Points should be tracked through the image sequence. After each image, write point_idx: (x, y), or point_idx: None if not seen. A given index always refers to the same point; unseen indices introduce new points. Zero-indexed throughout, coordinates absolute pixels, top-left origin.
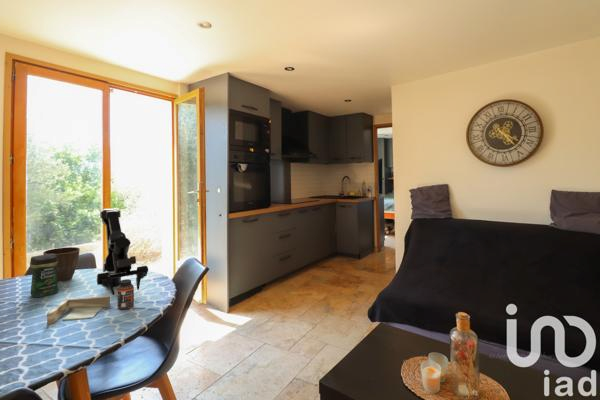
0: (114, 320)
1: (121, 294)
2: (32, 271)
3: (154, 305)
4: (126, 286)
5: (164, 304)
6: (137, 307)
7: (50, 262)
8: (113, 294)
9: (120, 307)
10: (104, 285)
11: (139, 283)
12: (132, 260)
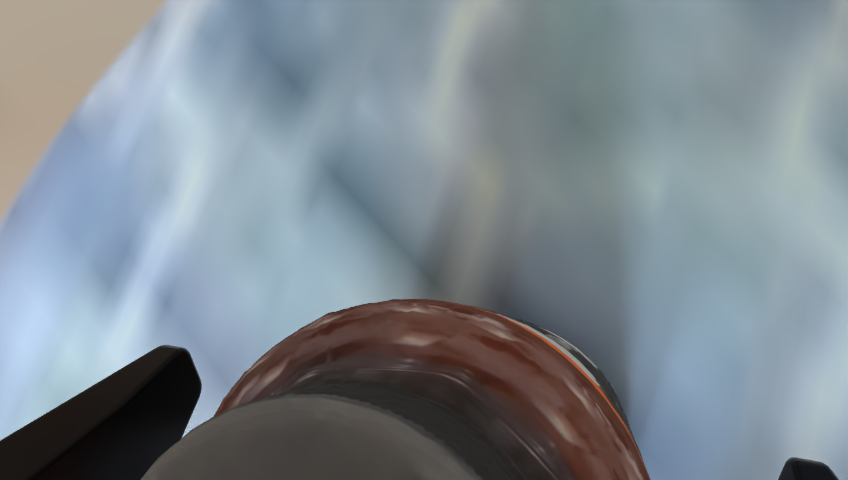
0: (797, 19)
1: (593, 378)
2: None
3: (202, 166)
4: (414, 371)
5: (110, 108)
6: (385, 269)
7: None
8: (816, 462)
9: (608, 382)
10: None
11: (17, 436)
12: None
